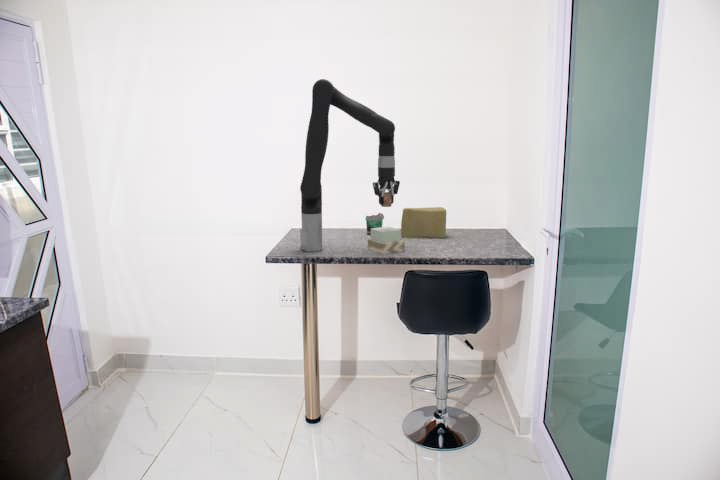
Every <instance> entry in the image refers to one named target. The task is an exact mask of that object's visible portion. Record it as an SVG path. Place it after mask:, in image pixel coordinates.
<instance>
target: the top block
mask: <svg viewBox="0 0 720 480" xmlns="http://www.w3.org/2000/svg"><path fill="white" fill-rule="evenodd" d="M370 239H372V240H374V241H377V242H380V243H389V242H396V241H401V240H402V237H401V229H399V228H395V227H393V226H390V225H388V226H382V227H379V228H371V235H370Z"/></svg>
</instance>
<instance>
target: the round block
mask: <svg viewBox="0 0 720 480" xmlns="http://www.w3.org/2000/svg"><path fill="white" fill-rule="evenodd" d="M383 197H384V205H380V206H381V207H385V208H388V207H389V208H390V207H392V204H391V192H388V191H385V192H384V196H383Z"/></svg>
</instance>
